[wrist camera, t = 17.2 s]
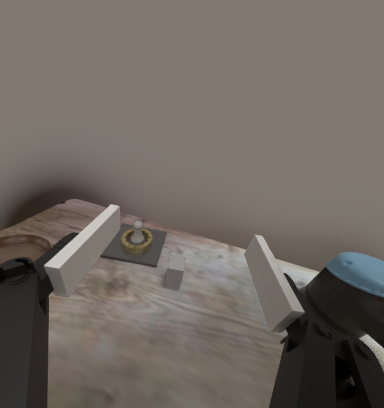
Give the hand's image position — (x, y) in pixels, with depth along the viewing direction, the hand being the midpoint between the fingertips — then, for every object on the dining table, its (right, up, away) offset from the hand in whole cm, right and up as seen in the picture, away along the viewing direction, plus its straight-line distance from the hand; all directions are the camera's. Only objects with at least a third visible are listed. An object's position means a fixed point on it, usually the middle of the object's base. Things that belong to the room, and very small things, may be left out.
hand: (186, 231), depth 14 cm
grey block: (-5, -19, +27) cm, 33 cm away
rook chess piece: (-18, -10, +35) cm, 41 cm away
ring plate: (-18, -11, +36) cm, 41 cm away
